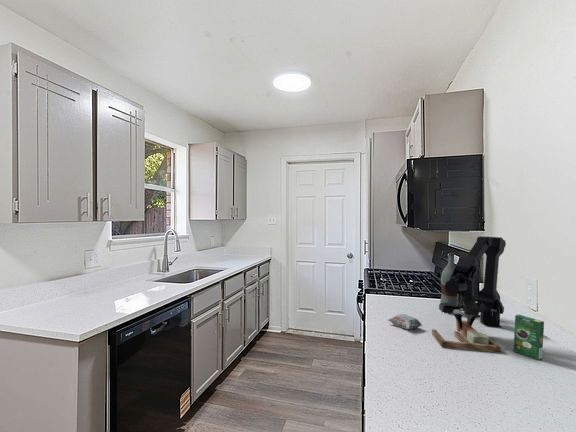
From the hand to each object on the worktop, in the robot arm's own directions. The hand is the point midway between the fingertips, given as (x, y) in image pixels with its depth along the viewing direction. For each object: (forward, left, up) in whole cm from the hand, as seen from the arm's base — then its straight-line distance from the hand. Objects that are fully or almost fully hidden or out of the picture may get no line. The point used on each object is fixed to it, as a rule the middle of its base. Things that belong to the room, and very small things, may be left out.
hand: (464, 330), depth 128 cm
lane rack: (+4, +12, -1) cm, 13 cm away
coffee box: (-14, +18, -1) cm, 23 cm away
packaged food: (+24, -1, -2) cm, 24 cm away
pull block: (0, +6, -1) cm, 6 cm away
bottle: (-4, -31, -1) cm, 31 cm away
